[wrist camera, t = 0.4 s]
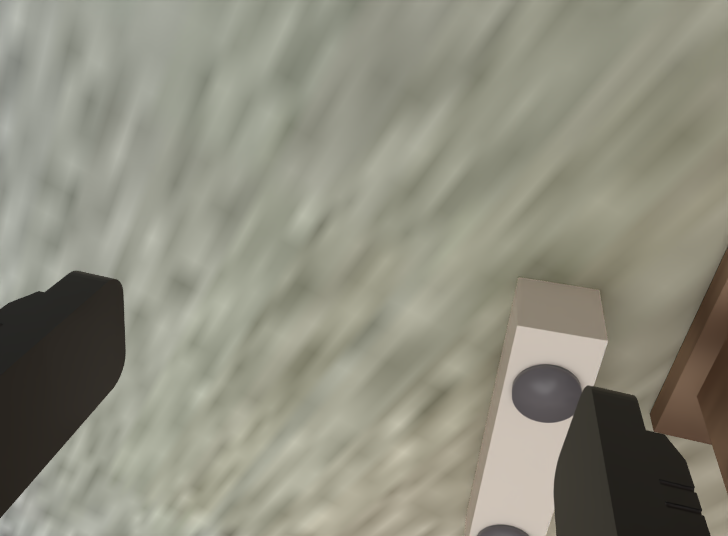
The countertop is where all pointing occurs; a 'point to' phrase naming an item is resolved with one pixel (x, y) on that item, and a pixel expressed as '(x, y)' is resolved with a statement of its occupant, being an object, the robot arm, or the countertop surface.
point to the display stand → (701, 377)
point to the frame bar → (534, 405)
